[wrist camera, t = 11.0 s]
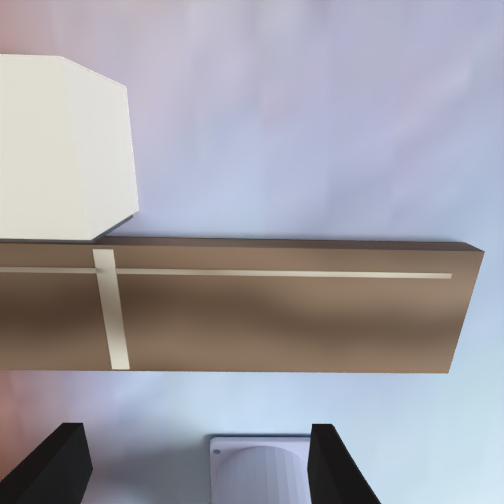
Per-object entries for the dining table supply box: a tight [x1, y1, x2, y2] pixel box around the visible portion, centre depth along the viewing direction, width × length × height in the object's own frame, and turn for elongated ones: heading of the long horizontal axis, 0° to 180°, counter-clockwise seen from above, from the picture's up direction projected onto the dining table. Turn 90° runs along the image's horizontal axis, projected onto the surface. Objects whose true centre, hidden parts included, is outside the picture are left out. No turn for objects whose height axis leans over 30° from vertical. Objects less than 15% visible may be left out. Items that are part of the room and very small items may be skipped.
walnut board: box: [0, 236, 485, 373], centre depth 18 cm, size 8×30×2 cm, turn 89°
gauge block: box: [0, 54, 139, 243], centre depth 13 cm, size 6×5×6 cm
